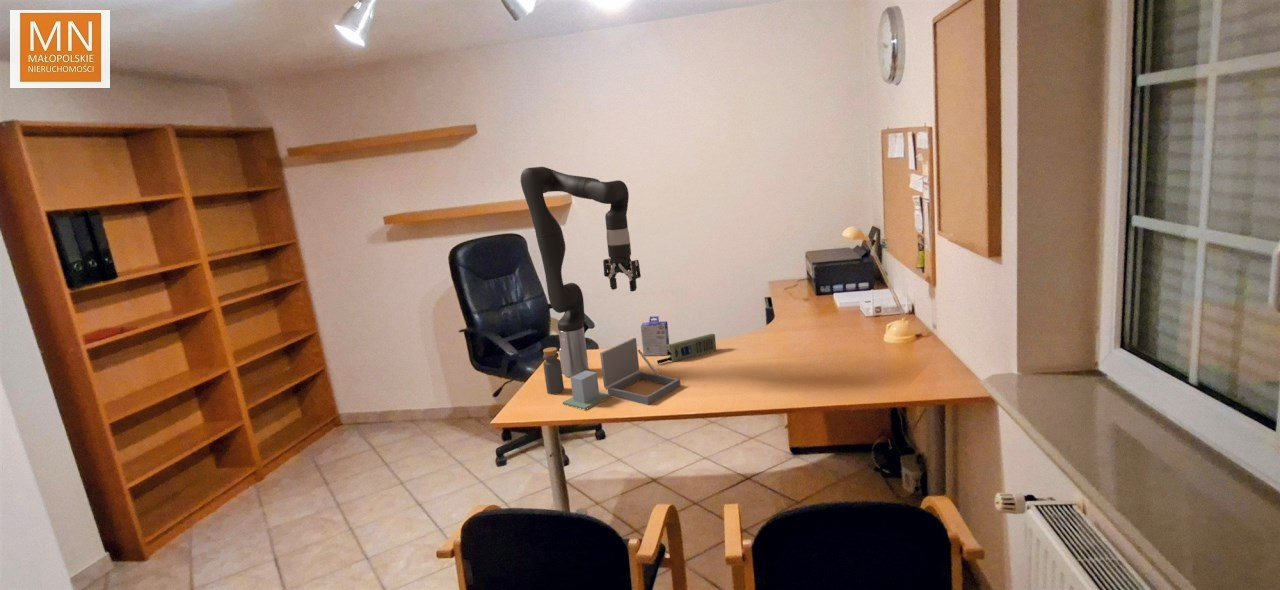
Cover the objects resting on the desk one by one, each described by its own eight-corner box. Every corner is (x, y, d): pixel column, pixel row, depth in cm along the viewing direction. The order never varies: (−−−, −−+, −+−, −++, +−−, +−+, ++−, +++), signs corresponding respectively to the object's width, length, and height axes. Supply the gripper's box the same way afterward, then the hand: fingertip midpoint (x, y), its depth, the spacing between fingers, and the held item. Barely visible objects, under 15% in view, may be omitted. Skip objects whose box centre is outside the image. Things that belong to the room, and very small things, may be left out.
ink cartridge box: (670, 350, 246) (667, 315, 243) (668, 355, 241) (665, 319, 237) (645, 351, 248) (642, 316, 245) (643, 356, 243) (639, 320, 239)
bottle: (557, 386, 220) (551, 345, 216) (567, 390, 215) (562, 348, 212) (543, 392, 216) (537, 350, 212) (554, 395, 212) (548, 353, 208)
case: (648, 404, 196) (643, 360, 193) (604, 394, 208) (600, 352, 205) (682, 385, 210) (679, 343, 206) (640, 376, 221) (636, 337, 218)
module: (573, 400, 203) (570, 377, 202) (588, 393, 209) (585, 370, 207) (584, 403, 200) (581, 379, 198) (599, 395, 205) (596, 372, 204)
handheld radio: (717, 351, 240) (660, 366, 230) (712, 349, 243) (655, 364, 233) (716, 334, 239) (658, 349, 228) (711, 332, 242) (654, 347, 231)
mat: (562, 404, 203) (562, 402, 203) (588, 391, 212) (588, 389, 212) (584, 410, 197) (584, 407, 197) (610, 396, 206) (610, 394, 206)
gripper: (595, 243, 210) (600, 291, 213) (627, 244, 200) (632, 294, 204) (610, 240, 215) (615, 286, 219) (642, 240, 206) (647, 289, 210)
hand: (623, 290), depth 211 cm, fingers open, 8 cm apart
